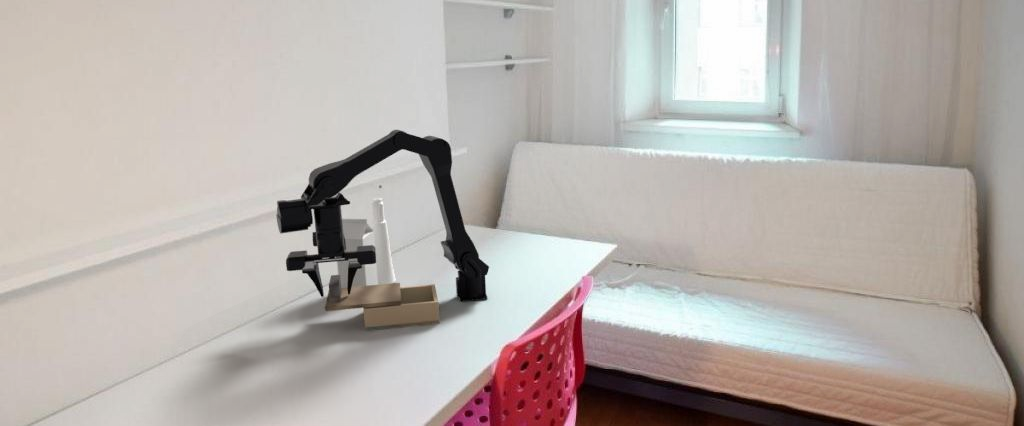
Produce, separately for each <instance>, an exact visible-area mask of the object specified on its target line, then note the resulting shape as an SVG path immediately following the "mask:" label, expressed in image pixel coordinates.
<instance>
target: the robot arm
mask: <svg viewBox="0 0 1024 426" xmlns="http://www.w3.org/2000/svg"><path fill="white" fill-rule="evenodd" d="M402 150H404V151H408V152H409V153H410V152H411V153H414V154H418V156H419V157H420V160H421V162H422V164H423V166H424V168H425V169H426V171H427V173H428V174H429V176H430V177H431V181H432V184H433V188H434V192H435V196H436V200H437V202H438V206H439V210H440V213H441V217H442V221H443V224H444V228H445V231H446V232H445V234H446V236H445V240H442V241H440V244H441V247H442V250H443V257H444V258H445V259H447V260H448V261H449V262H450V263H451V264H452V265H454V268H455V269H456V270H457V277H455V288H456V289H455V291H456V296H457V297H458V298H459V301H460V302H472V301H479V300H487V299H488V295H487V284H486V276H487V275H488V273H489V269H490V266H489V265H488V264H487V263H485V262H484V261H483V260H482V259H481V258H480V256H479V252H478V249H477V248H476V246H475V244H474V241H473V240H472V239H471V237H470V236H469V233H468V232H467V231H466V227H465V224H464V223H465V222H464V220H463V216H462V211H461V208H460V204H459V200H458V198H457V193H456V189H455V185H454V182H453V179H452V178H453V177H452V167H453V158H452V157H453V156H452V148H451V145H450V143H449V141H447V140H445V139H443V138H441V137H437V136H434V135H426V136H423V137H420V136H417V135H414V134H410V133H407V132H406V131H404V130H400V129H393V130H391V131H390V132H389V133H388V134H387V135H385V136H383V137H381V138H380V139H378V140H376V141H375V142H372V143H371V144H369V145H367V146H365V147H364V148H362V149H360V150H359V151H356V152H355V153H353V154H352V155H350V156H348V157H346V158H344V159H341V160H338V161H333V162H330V163H327V164H324V165H322V166H319V167H316V168H314V169H313V170H312V171H311V172H310V173H309V176H308V185H307V186H306V188H305V189H304V191H303V193H302V194H301V196H300V198H298V199H296V198H295V199H290V200H288V199H287V200H286V199H285V200H283V199H281V200H277V201H276V204H277V207H276V214H275V215H276V223H277V227H278V228H277V229H278V232H279V233H280V234H287V233H294V232H295V233H296V232H301V231H308V230H309V228H310V227H312V225H313V224H314V228H315V231H312V246H314V247H317V254H315V253H314V254H308V251H307V250H297V251H296V250H295V251H290V252H289V253H288V255H287V257H286V260H285V264H286V266H285V267H286V271H288V272H294V271H301V273H302V274H307V276H308V277H309V279H310V280H311V281H312V282H313V284H314V286H315V287H316V289H317V291H318V293H319V295H320V296H321V298H323V297H324V296H325V294H324V286H323V282H322V277H321V273H320V266H319V264H321V263H323V264H324V263H332V262H333V263H335V262H336V263H337V261H348V260H349V265H348V285H347V290H348V294H350V292H351V287H352V283H353V279H354V276H355V274H356V271H357V269H361V268H362V265H366V264H374V263H376V248H375V247H374V246H373V245H368V246H357V251H351V252H345V250H346V242H345V237H344V234H343V224H342V219H343V217H342V206H347V205H350V204H351V201H350V200H349V199H348V198H346V197H345V196H344V195H343V193H342V192H341V191H342V190H344V189H345V188H346V187H347V186H348V185H349V184H350V183H351V181H352V180H354V178H355V177H357V176H358V175H361V173H364V172H365V171H367V170H369V169H370V168H372V167H374V166H376V165H377V164H379V163H381V162H383V161H384V160H387V159H388V158H389V157H391V156H393V155H394V154H396V153H398V152H400V151H402ZM312 211H313V212H312ZM313 218H314V219H313Z"/></svg>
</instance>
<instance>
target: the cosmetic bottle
mask: <svg viewBox="0 0 1024 426" xmlns="http://www.w3.org/2000/svg"><path fill="white" fill-rule="evenodd" d="M382 200H383V198H382V197H376V198H373V199H372V216H373V221H371V229H372V230H373V232H374V243H375V248H376V266H377V278H378V285H381V284H392V283H396V281H397V279H396V275H395V270H394V266H393V260H392V253H391V246H390V238H389V229H388V223H387V220H386V219H385V208H384V205H385V204H384V202H383V201H382Z"/></svg>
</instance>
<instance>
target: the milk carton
mask: <svg viewBox="0 0 1024 426" xmlns="http://www.w3.org/2000/svg"><path fill="white" fill-rule="evenodd" d="M342 224H343V234H344V237H345V242H346V250H345V252H351V251H357V246H368V245H373V246H374V247H375V243H374V232H373V230H372V226H370V225H369V223H368V218H342ZM336 264H337V275H340V278H341V288H347V285H348V265H349V260H348V261H336ZM369 285H378V278H377V266H376V263H374V264H366V265H362V268H361V269H357V271H356V274H355V276H354V279H353V283H352V287H358V286H369Z"/></svg>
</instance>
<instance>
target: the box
mask: <svg viewBox="0 0 1024 426" xmlns="http://www.w3.org/2000/svg"><path fill="white" fill-rule="evenodd" d="M400 291H401V304H398V305H387V306H376V307H366V308H363V310H362V311H363V319H364V321H363V322H364V329H365V330H364V331H365V332H367V331H368V332H369V331H375V330H377V331H378V330H386V329H397V328H398V329H399V328H407V327H417V326H428V325H437V324H441V322H440V309H439V308H440V307H439V306H440V305H439V299H438V293H437V289H436V285H435V283H432V284H424V285H423V284H422V285H421V284H420V285H412V286H400Z"/></svg>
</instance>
